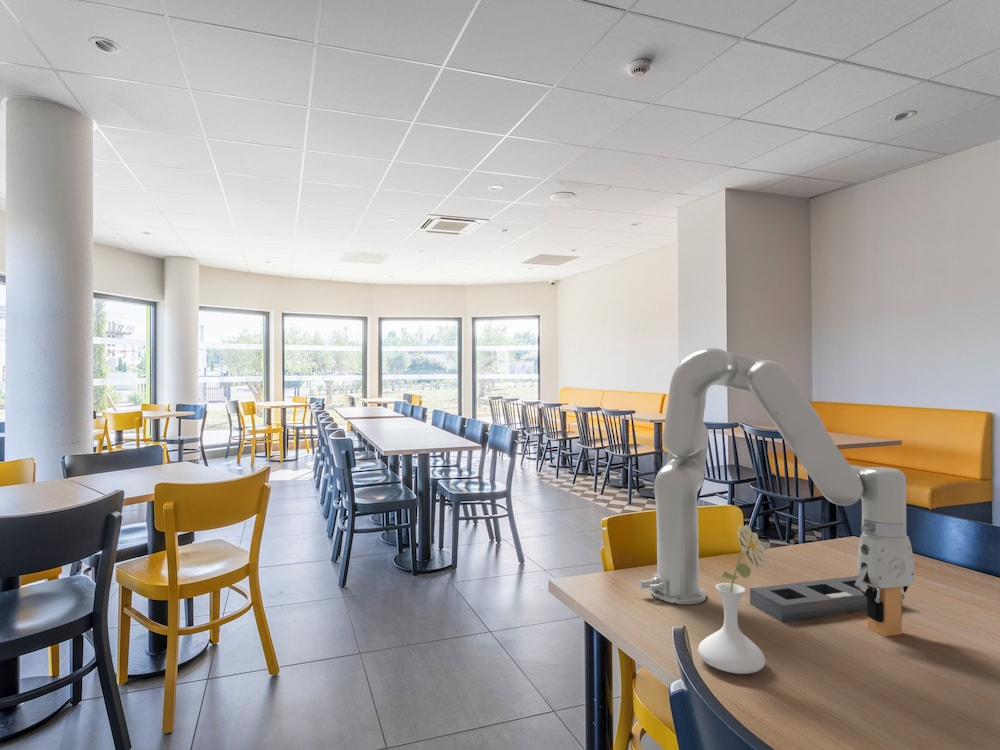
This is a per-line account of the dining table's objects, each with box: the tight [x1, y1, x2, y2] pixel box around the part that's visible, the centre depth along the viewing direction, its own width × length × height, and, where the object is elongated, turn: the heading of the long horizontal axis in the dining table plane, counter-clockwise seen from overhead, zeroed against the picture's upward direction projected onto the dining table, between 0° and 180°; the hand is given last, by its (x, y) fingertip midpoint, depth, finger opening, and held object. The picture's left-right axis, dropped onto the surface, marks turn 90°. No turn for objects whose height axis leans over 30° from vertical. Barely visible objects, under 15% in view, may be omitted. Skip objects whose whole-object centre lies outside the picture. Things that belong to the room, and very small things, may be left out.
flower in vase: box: [697, 523, 768, 675], centre depth 101 cm, size 13×11×25 cm
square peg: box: [867, 587, 903, 637], centre depth 114 cm, size 4×4×10 cm
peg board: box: [749, 575, 867, 623], centre depth 127 cm, size 32×10×4 cm, turn 105°
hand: (884, 617), depth 114 cm, fingers closed on square peg, 4 cm apart
